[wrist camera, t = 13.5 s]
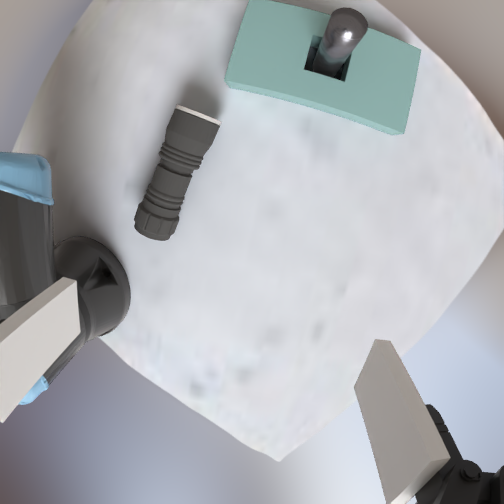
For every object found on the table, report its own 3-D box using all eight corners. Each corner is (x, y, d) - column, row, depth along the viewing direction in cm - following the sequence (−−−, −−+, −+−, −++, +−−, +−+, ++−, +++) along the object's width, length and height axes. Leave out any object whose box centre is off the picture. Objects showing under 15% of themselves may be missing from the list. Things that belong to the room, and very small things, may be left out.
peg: (309, 74, 32) (326, 32, 19) (315, 53, 31) (333, 3, 18) (334, 81, 32) (364, 44, 19) (339, 60, 31) (370, 15, 18)
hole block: (229, 87, 33) (223, 80, 30) (252, 11, 30) (250, -3, 26) (391, 135, 33) (403, 133, 30) (408, 58, 30) (421, 49, 26)
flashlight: (177, 237, 40) (162, 250, 35) (141, 220, 39) (122, 230, 34) (225, 123, 35) (216, 119, 30) (185, 108, 35) (170, 101, 30)
